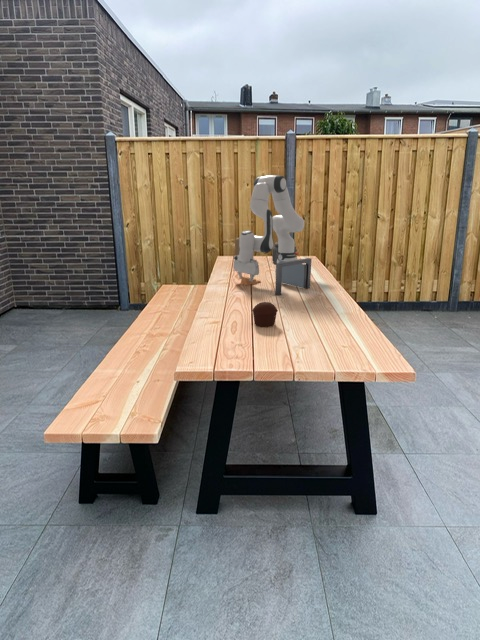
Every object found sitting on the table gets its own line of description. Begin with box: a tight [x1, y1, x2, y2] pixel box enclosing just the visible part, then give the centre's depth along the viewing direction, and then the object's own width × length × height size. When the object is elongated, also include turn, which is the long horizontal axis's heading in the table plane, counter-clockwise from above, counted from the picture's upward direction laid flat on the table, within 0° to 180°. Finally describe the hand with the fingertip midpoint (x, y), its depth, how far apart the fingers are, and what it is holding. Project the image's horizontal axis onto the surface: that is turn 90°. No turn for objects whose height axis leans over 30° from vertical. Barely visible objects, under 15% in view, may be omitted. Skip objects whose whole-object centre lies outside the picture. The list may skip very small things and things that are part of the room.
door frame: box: [274, 257, 312, 296], centre depth 263 cm, size 27×2×18 cm, turn 131°
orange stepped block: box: [240, 276, 261, 286], centre depth 285 cm, size 12×5×4 cm, turn 131°
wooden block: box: [234, 237, 240, 256], centre depth 342 cm, size 10×10×20 cm
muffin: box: [251, 301, 278, 328], centre depth 204 cm, size 12×11×10 cm
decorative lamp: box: [271, 232, 298, 265], centre depth 349 cm, size 19×19×30 cm
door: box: [279, 260, 307, 289], centre depth 277 cm, size 22×1×14 cm, turn 41°
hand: (246, 280), depth 283 cm, fingers open, 8 cm apart
